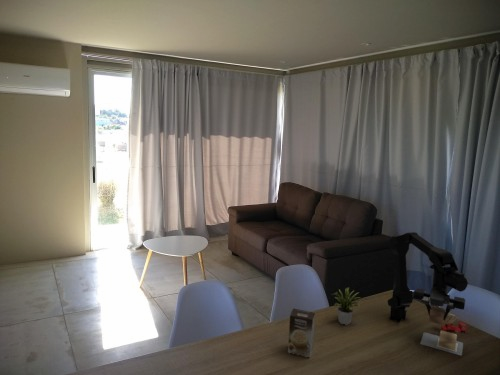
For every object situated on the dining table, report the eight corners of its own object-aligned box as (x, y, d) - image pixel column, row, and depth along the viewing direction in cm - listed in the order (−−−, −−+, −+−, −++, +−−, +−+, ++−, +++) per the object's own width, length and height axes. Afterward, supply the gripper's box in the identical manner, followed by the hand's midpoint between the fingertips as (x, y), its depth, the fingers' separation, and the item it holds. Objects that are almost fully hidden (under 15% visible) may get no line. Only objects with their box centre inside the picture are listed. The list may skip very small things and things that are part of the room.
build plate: (420, 345, 157) (420, 343, 157) (423, 334, 166) (424, 332, 166) (461, 358, 149) (461, 355, 149) (462, 345, 158) (463, 342, 158)
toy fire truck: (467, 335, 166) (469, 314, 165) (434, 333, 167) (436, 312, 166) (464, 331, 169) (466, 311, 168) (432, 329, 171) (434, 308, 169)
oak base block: (438, 345, 155) (439, 336, 155) (439, 339, 160) (440, 330, 160) (455, 350, 152) (456, 341, 152) (456, 343, 157) (457, 334, 157)
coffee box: (287, 353, 149) (288, 315, 147) (290, 345, 155) (292, 308, 153) (310, 358, 146) (312, 319, 144) (313, 349, 152) (315, 312, 150)
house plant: (342, 334, 164) (344, 298, 162) (321, 319, 176) (323, 286, 174) (366, 326, 171) (368, 292, 169) (344, 313, 183) (346, 281, 181)
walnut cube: (429, 321, 156) (430, 309, 155) (430, 316, 160) (431, 305, 160) (442, 324, 153) (443, 313, 153) (444, 319, 158) (445, 308, 157)
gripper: (412, 282, 153) (409, 319, 155) (465, 294, 143) (461, 333, 145) (417, 274, 162) (414, 309, 164) (467, 284, 152) (463, 321, 154)
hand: (437, 318), depth 157 cm, fingers closed on walnut cube, 5 cm apart
